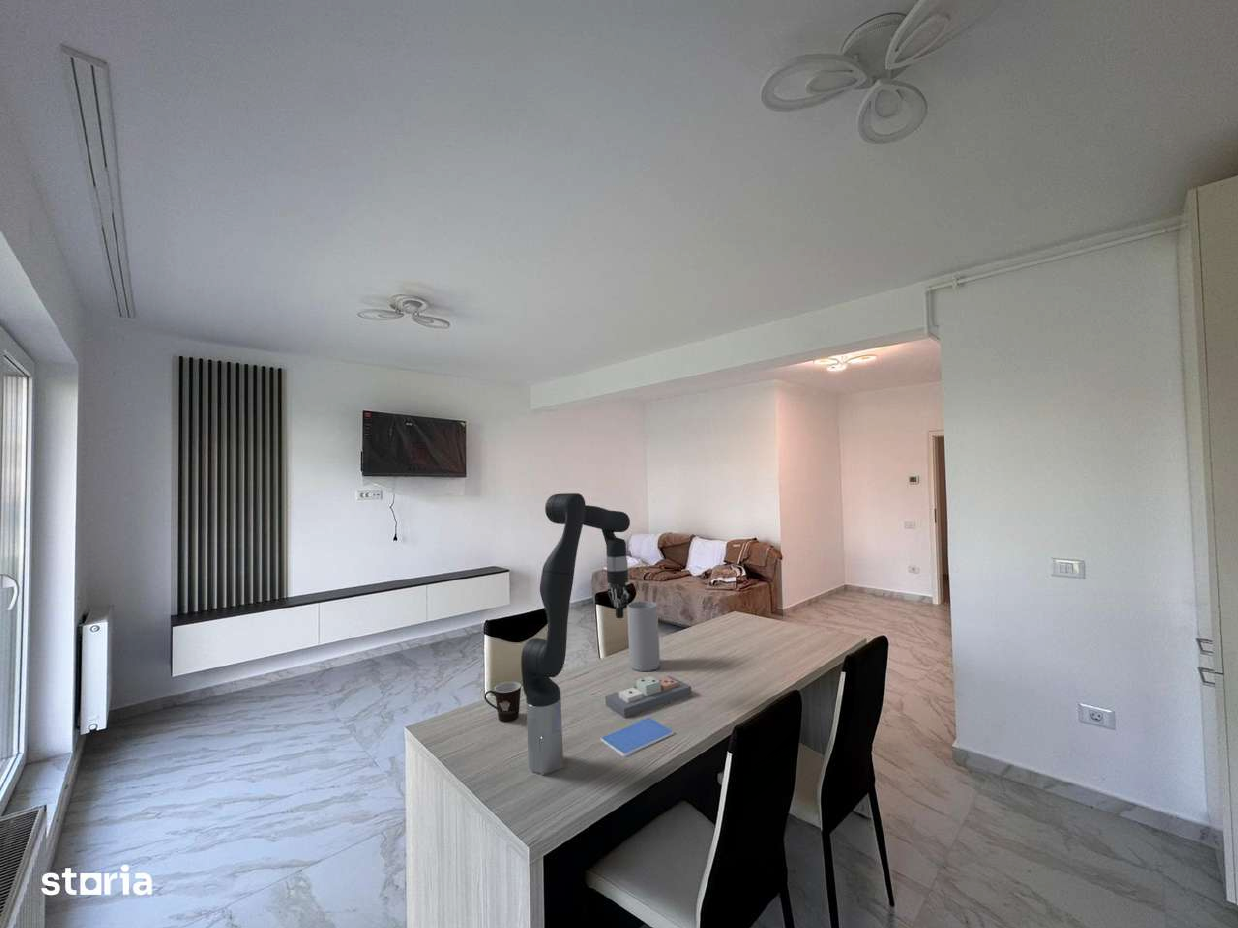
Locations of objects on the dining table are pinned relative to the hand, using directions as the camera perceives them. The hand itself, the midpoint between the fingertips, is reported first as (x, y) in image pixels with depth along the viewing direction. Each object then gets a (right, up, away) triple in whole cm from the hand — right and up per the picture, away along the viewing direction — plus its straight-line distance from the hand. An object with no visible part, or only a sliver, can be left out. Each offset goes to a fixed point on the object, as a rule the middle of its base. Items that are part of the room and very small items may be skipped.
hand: (619, 617), depth 171 cm
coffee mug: (-38, -30, -11) cm, 49 cm away
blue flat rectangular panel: (+5, -28, -28) cm, 39 cm away
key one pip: (+4, -27, -7) cm, 28 cm away
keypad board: (+10, -28, -3) cm, 30 cm away
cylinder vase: (+11, -29, +29) cm, 42 cm away
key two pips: (+10, -25, -3) cm, 27 cm away
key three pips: (+17, -27, +1) cm, 31 cm away
